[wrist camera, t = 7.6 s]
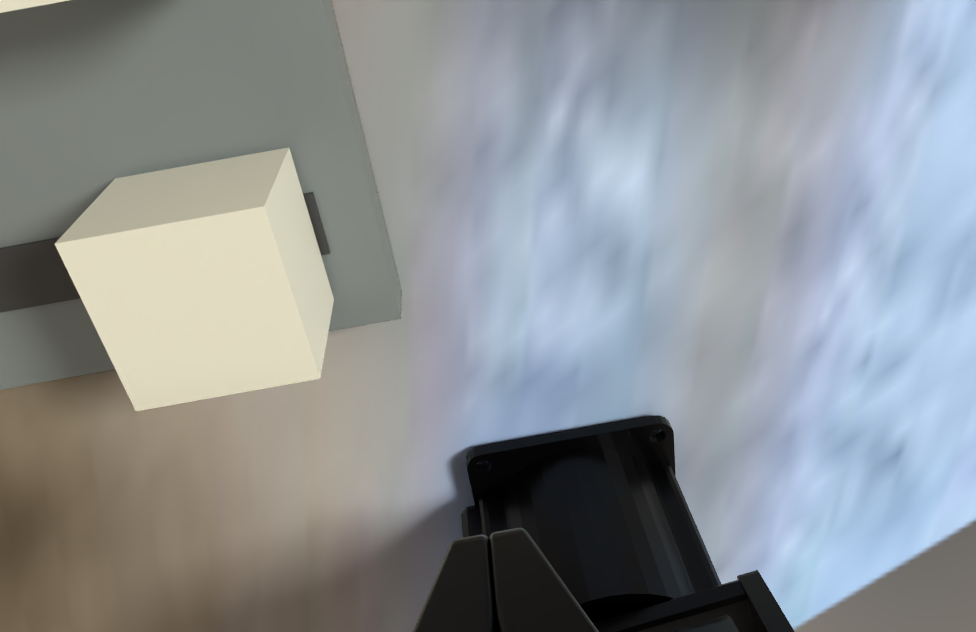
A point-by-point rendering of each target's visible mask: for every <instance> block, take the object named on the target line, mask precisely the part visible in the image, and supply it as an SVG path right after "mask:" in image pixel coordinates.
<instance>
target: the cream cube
mask: <svg viewBox="0 0 976 632" xmlns="http://www.w3.org/2000/svg"><path fill="white" fill-rule="evenodd" d="M55 246H56V248H57V250H58V252H59V254H60V256H61V258H62V260H63V262H64V265H65V267H66V269H67V271H68V273H69V275H70V277H71V279H72V281H73V283H74V285H75V287H76V289H77V291H78V293H79V295H80V297H81V299H82V302H83V304H84V306H85V308H86V310H87V312H88V314H89V316H90V318H91V320H92V322H93V324H94V326H95V328H96V330H97V332H98V334H99V337H100V339H101V341H102V343H103V345H104V347H105V349H106V351H107V353H108V355H109V357H110V359H111V361H112V363H113V365H114V367H115V369H116V371H117V374H118V376H119V378H120V380H121V382H122V384H123V386H124V388H125V390H126V392H127V394H128V396H129V398H130V400H131V402H132V404H133V406H134V408H135V411H141V410H146V409H152V408H158V407H163V406H169V405H175V404H180V403H186V402H191V401H197V400H203V399H208V398H214V397H220V396H225V395H231V394H237V393H242V392H248V391H253V390H259V389H265V388H270V387H276V386H282V385H287V384H293V383H298V382H304V381H310V380H315V379H320V377H321V371H322V365H323V359H324V354H325V348H326V342H327V337H328V331H329V325H330V319H331V314H332V308H333V302H334V298H333V294H332V291H331V287H330V284H329V281H328V277H327V274H326V271H325V267H324V264H323V260H322V257H321V254H320V250H319V247H318V243H317V240H316V237H315V233H314V230H313V226H312V223H311V220H310V216H309V213H308V210H307V206H306V203H305V199H304V196H303V193H302V189H301V186H300V182H299V179H298V176H297V172H296V169H295V165H294V162H293V159H292V155H291V152H290V149H289V147H288V148H283V149H277V150H271V151H266V152H260V153H255V154H249V155H244V156H238V157H232V158H227V159H221V160H216V161H210V162H204V163H199V164H193V165H188V166H182V167H177V168H171V169H165V170H160V171H154V172H149V173H143V174H137V175H132V176H126V177H121V178H115V179H114V180H113V181H112V182H111V183H110V185H109V186H108V187H107V188H106V189H105V190H104V191H103V192H102V193H101V194H100V195H99V196H98V198H97V199H96V200H95V201H94V202H93V203H92V204H91V205H90V206H89V207H88V208H87V209H86V210H85V212H84V213H83V214H82V215H81V216H80V217H79V218H78V219H77V220H76V221H75V222H74V223H73V224H72V226H71V227H70V228H69V229H68V230H67V231H66V232H65V233H64V234H63V235H62V236H61V237H60V238H59V240H58V241H57V242H56V243H55Z"/></svg>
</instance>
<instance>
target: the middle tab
mask: <svg viewBox="0 0 976 632" xmlns="http://www.w3.org/2000/svg"><path fill="white" fill-rule="evenodd" d="M63 1H69V0H0V13H2V12H8V11H13V10H19V9H25V8H30V7H36V6H41V5H47V4H52V3H58V2H63Z"/></svg>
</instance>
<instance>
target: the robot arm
mask: <svg viewBox="0 0 976 632" xmlns="http://www.w3.org/2000/svg"><path fill="white" fill-rule="evenodd" d="M655 430H661V431H660V432H659V433H657V434H651V433H652V432H653V431H655ZM480 461H488V463H487V464H484V465H479V464H477V463H478V462H480ZM467 471H468V475H469V480H470V484H471V489H472V493H473V498H474V502H475V506H470V507H466V509H465V510H464V511H463V513H462V514H461V516H462V529H463V538H459V539H456V540H454V541H453V542H452V543H451V545H450V547H449V549H448V552H447V554H446V556H445V559H444V561H443V563H442V566H441V568H440V570H439V573H438V575H437V577H436V580H435V582H434V584H433V587H432V589H431V591H430V594H429V596H428V598H427V601H426V603H425V605H424V608H423V610H422V612H421V615H420V617H419V619H418V622H417V624H416V626H415V629H414V631H413V632H794V630H793V628H792V627H791V625H790V623H789V622H788V620H787V618H786V617H785V615H784V613H783V612H782V610H781V608H780V607H779V605H778V603H777V602H776V600H775V598H774V597H773V595H772V593H771V592H770V590H769V588H768V587H767V585H766V583H765V582H764V580H763V578H762V577H761V575H760V573H759V572H758V570H756V571H753V572H749V573H746V574H742V575H739V576H737V578H738V580H736V581H732V582H729V583H725V584H722V585H721V582H720V580H719V578H718V575H717V573H716V571H715V568H714V566H713V564H712V561H711V559H710V557H709V554H708V552H707V550H706V547H705V545H704V543H703V540H702V538H701V536H700V533H699V531H698V529H697V526H696V524H695V522H694V519H693V517H692V515H691V512H690V510H689V508H688V505H687V503H686V501H685V498H684V496H683V494H682V491H681V489H680V487H679V484H678V482H677V480H676V477H675V456H674V433H673V430H672V427H671V425H670V423H669V421H668V420H667V419H666V418H665V417H662V416H649V417H643V418H637V419H632V420H626V421H620V422H615V423H609V424H604V425H598V426H592V427H587V428H581V429H575V430H570V431H564V432H558V433H553V434H547V435H541V436H536V437H530V438H524V439H519V440H513V441H507V442H502V443H496V444H491V445H485V446H479V447H477V448H474V449H472V450H471V451H470V452H469V453H468V455H467Z"/></svg>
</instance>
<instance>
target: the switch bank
mask: <svg viewBox="0 0 976 632" xmlns="http://www.w3.org/2000/svg"><path fill="white" fill-rule="evenodd" d="M288 147H289V149H290V152H291V155H292V159H293V162H294V165H295V169H296V172H297V176H298V179H299V182H300V186H301V189H302V193H303V196H304V199H305V203H306V206H307V210H308V213H309V216H310V220H311V223H312V226H313V230H314V233H315V237H316V240H317V243H318V247H319V250H320V254H321V257H322V260H323V264H324V267H325V271H326V274H327V277H328V281H329V284H330V287H331V291H332V294H333V298H334V302H333V308H332V314H331V319H330V325H329V331H334V330H339V329H345V328H351V327H356V326H362V325H367V324H373V323H379V322H384V321H390V320H396V319H401V299H402V291H401V286H400V282H399V278H398V274H397V270H396V266H395V262H394V258H393V253H392V249H391V245H390V241H389V237H388V233H387V229H386V225H385V220H384V216H383V212H382V208H381V204H380V200H379V196H378V192H377V187H376V183H375V179H374V175H373V171H372V167H371V163H370V159H369V154H368V150H367V146H366V142H365V138H364V134H363V130H362V126H361V121H360V117H359V113H358V109H357V105H356V101H355V97H354V93H353V88H352V84H351V80H350V76H349V72H348V68H347V64H346V60H345V55H344V51H343V47H342V43H341V39H340V35H339V31H338V27H337V22H336V18H335V14H334V10H333V6H332V2H331V0H69V1H63V2H58V3H52V4H47V5H41V6H36V7H30V8H25V9H19V10H13V11H8V12H2V13H0V390H2V389H8V388H13V387H19V386H25V385H30V384H36V383H42V382H47V381H53V380H58V379H64V378H70V377H75V376H81V375H86V374H92V373H98V372H103V371H109V370H115V367H114V365H113V363H112V361H111V359H110V357H109V355H108V353H107V351H106V349H105V347H104V345H103V343H102V341H101V339H100V337H99V334H98V332H97V330H96V328H95V326H94V324H93V322H92V320H91V318H90V316H89V314H88V312H87V310H86V308H85V306H84V304H83V302H82V299H81V297H80V295H79V293H78V291H77V289H76V287H75V285H74V283H73V281H72V279H71V277H70V275H69V273H68V271H67V269H66V267H65V265H64V262H63V260H62V258H61V256H60V254H59V252H58V250H57V248H56V246H55V243H56V242H57V241H58V240H59V238H60V237H61V236H62V235H63V234H64V233H65V232H66V231H67V230H68V229H69V228H70V227H71V226H72V224H73V223H74V222H75V221H76V220H77V219H78V218H79V217H80V216H81V215H82V214H83V213H84V212H85V210H86V209H87V208H88V207H89V206H90V205H91V204H92V203H93V202H94V201H95V200H96V199H97V198H98V196H99V195H100V194H101V193H102V192H103V191H104V190H105V189H106V188H107V187H108V186H109V185H110V183H111V182H112V181H113V180H114V179H115V178H121V177H126V176H132V175H137V174H143V173H149V172H154V171H160V170H165V169H171V168H177V167H182V166H188V165H193V164H199V163H204V162H210V161H216V160H221V159H227V158H232V157H238V156H244V155H249V154H255V153H260V152H266V151H271V150H277V149H283V148H288Z"/></svg>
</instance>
